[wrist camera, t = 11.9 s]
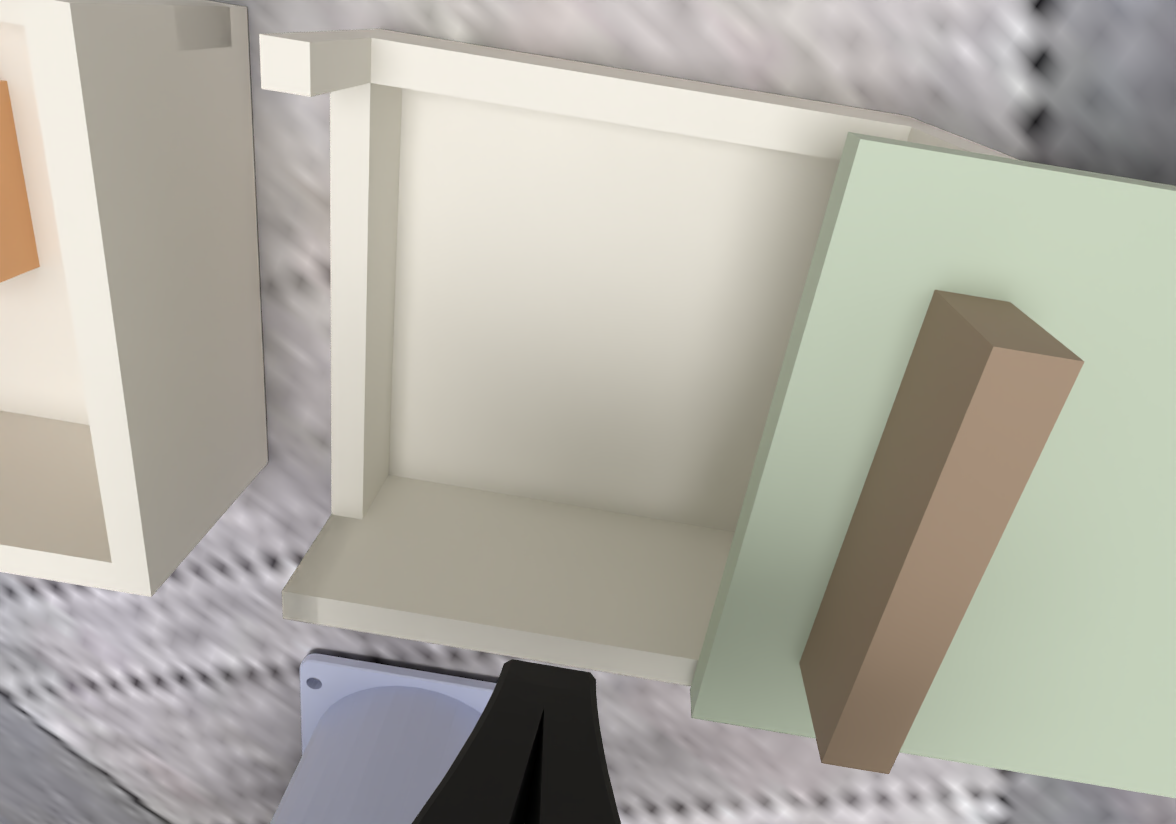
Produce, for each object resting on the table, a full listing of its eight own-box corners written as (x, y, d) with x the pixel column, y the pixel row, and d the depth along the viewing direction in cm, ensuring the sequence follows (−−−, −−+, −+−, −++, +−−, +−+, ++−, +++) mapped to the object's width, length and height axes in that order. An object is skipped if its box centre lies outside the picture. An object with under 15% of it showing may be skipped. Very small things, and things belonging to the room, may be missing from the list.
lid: (1219, 777, 18) (1328, 924, 15) (690, 689, 18) (697, 819, 15) (1614, 258, 12) (1907, 331, 9) (848, 132, 12) (907, 167, 9)
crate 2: (773, 546, 23) (808, 705, 18) (368, 479, 23) (282, 618, 18) (908, 115, 18) (1018, 158, 12) (379, 28, 18) (259, 34, 12)
